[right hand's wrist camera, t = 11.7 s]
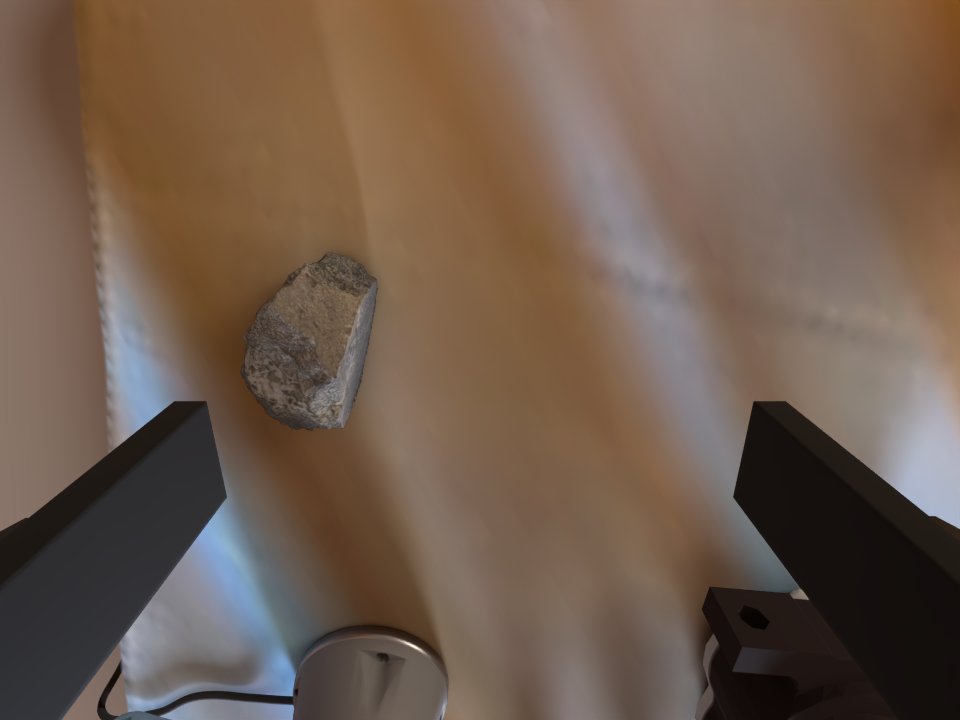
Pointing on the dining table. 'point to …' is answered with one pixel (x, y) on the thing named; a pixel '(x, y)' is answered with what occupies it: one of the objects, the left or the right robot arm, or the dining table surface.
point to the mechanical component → (779, 662)
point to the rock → (312, 344)
